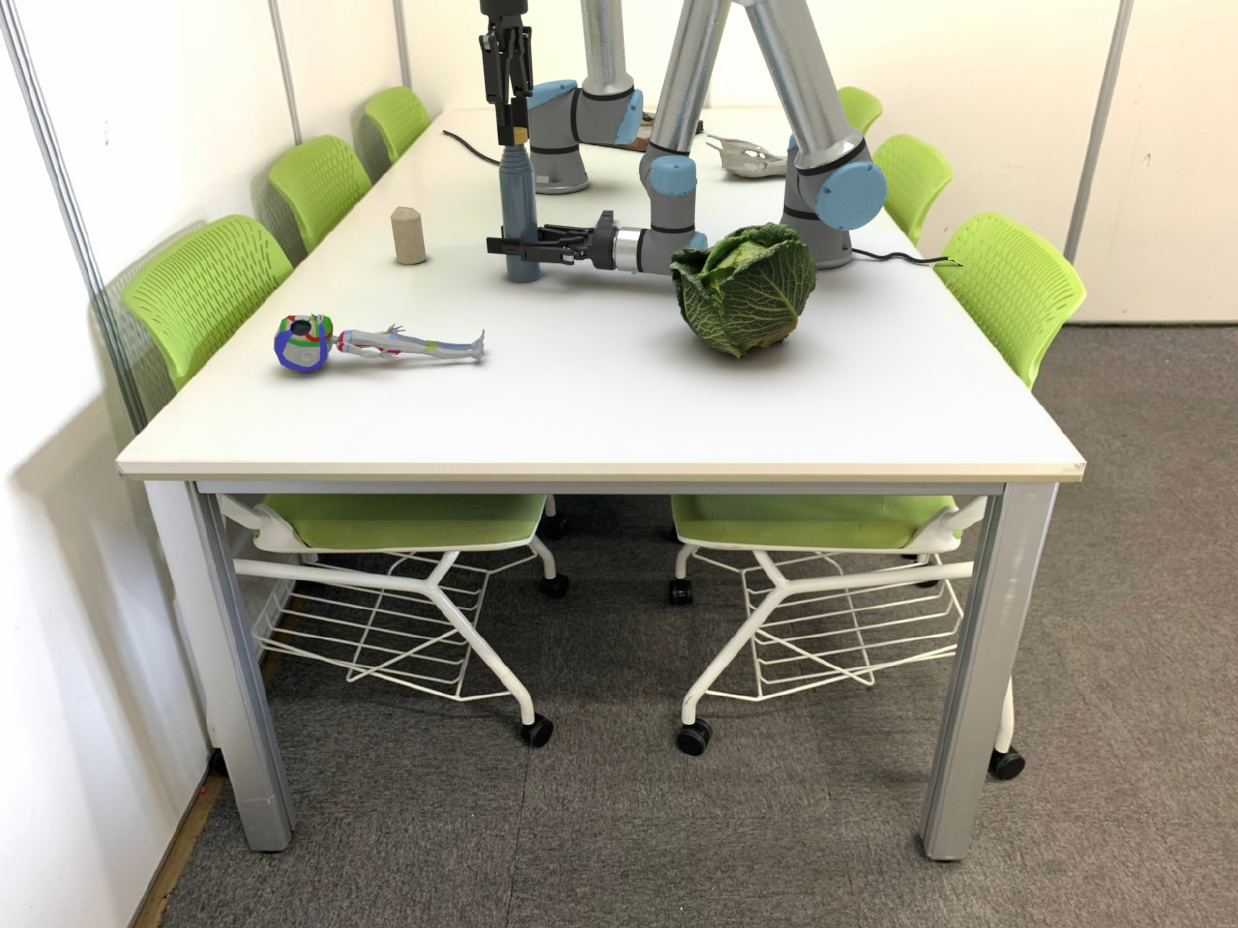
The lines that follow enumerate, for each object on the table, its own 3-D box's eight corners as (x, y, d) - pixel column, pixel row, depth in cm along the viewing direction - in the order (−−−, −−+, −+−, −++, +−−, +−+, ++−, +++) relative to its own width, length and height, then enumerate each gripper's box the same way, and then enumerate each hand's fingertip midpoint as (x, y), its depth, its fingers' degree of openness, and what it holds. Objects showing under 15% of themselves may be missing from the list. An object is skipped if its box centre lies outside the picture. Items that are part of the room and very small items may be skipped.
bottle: (539, 269, 167) (529, 127, 153) (542, 281, 162) (533, 135, 148) (506, 271, 166) (494, 129, 153) (508, 283, 161) (496, 137, 148)
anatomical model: (708, 130, 224) (809, 129, 220) (707, 168, 229) (806, 167, 225) (703, 145, 212) (811, 144, 208) (703, 184, 216) (808, 183, 213)
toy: (484, 341, 128) (264, 324, 124) (481, 394, 133) (269, 379, 128) (485, 314, 137) (280, 296, 132) (482, 364, 141) (284, 349, 136)
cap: (526, 138, 153) (525, 126, 152) (528, 144, 150) (528, 132, 149) (499, 139, 153) (498, 127, 152) (501, 145, 149) (500, 133, 148)
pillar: (613, 210, 190) (600, 241, 173) (613, 220, 191) (600, 251, 174) (603, 210, 190) (589, 240, 173) (603, 220, 191) (589, 251, 174)
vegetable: (704, 370, 145) (643, 264, 138) (800, 304, 147) (745, 195, 139) (754, 397, 127) (686, 277, 119) (863, 321, 128) (804, 197, 121)
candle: (431, 256, 173) (424, 204, 168) (417, 265, 169) (409, 213, 164) (406, 253, 175) (399, 202, 170) (391, 262, 171) (383, 210, 165)
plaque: (647, 125, 237) (559, 112, 252) (647, 153, 241) (560, 139, 256) (706, 107, 258) (622, 97, 273) (705, 133, 262) (622, 121, 277)
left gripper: (508, -19, 147) (519, 129, 159) (451, -10, 133) (468, 152, 146) (549, -19, 144) (557, 132, 157) (495, -9, 131) (508, 155, 143)
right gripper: (602, 289, 150) (475, 277, 156) (632, 252, 166) (515, 242, 171) (601, 245, 146) (471, 235, 152) (632, 211, 162) (512, 203, 167)
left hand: (514, 141), depth 151 cm, fingers closed on cap, 5 cm apart
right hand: (495, 239), depth 162 cm, fingers closed on bottle, 6 cm apart
